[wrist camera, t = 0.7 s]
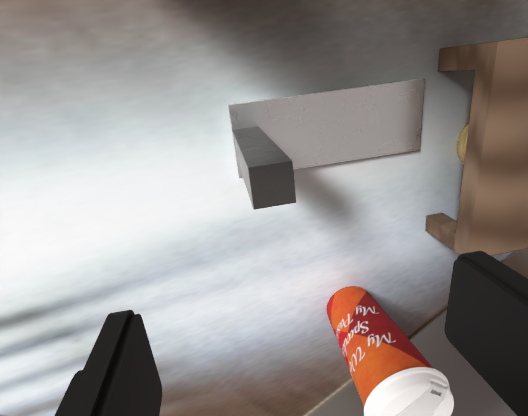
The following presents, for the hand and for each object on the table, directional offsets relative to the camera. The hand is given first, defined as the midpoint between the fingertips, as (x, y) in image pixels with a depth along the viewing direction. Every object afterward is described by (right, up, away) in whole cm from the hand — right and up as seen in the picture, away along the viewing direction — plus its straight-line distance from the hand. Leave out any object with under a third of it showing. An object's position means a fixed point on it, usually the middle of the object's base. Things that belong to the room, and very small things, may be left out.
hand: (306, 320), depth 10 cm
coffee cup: (+10, -9, +33) cm, 35 cm away
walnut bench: (+23, +11, +27) cm, 37 cm away
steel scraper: (+5, +12, +24) cm, 27 cm away
